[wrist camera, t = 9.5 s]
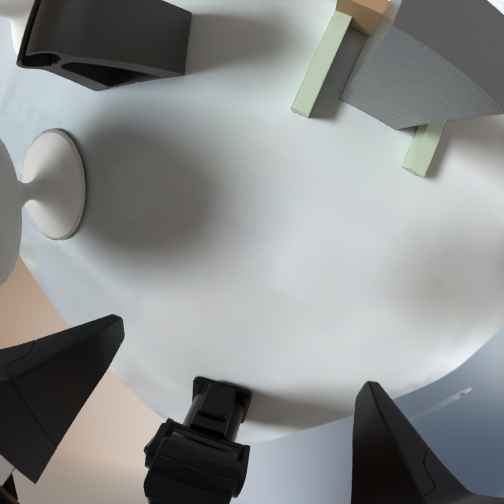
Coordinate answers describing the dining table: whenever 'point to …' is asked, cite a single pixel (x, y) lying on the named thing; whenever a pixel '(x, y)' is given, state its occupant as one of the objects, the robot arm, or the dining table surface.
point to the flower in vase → (16, 17)
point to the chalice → (40, 193)
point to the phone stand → (106, 40)
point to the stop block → (431, 63)
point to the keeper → (346, 15)
